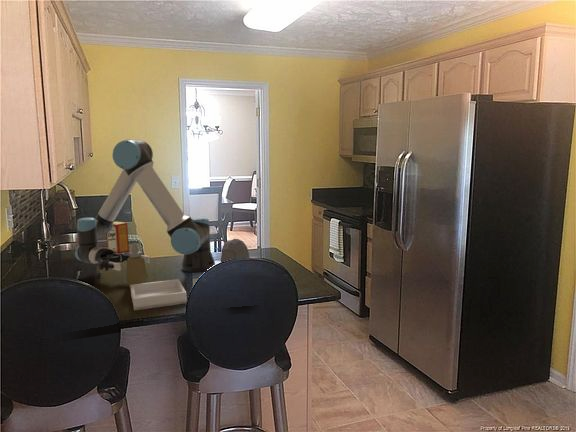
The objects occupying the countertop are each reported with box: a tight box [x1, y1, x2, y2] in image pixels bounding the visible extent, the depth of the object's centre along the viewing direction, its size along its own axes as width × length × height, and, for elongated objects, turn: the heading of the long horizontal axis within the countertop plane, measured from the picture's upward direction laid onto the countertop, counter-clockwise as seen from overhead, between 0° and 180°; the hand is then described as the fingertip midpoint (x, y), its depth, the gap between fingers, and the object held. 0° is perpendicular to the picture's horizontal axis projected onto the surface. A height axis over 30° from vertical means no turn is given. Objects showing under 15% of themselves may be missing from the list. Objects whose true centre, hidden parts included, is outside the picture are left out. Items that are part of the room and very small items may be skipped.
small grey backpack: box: [220, 238, 250, 263], centre depth 178 cm, size 15×8×20 cm, turn 157°
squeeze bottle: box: [125, 242, 148, 289], centre depth 182 cm, size 8×8×18 cm
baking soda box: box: [105, 221, 130, 254], centre depth 246 cm, size 10×6×16 cm
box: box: [129, 278, 188, 311], centre depth 169 cm, size 18×18×4 cm
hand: (134, 263), depth 182 cm, fingers open, 13 cm apart
